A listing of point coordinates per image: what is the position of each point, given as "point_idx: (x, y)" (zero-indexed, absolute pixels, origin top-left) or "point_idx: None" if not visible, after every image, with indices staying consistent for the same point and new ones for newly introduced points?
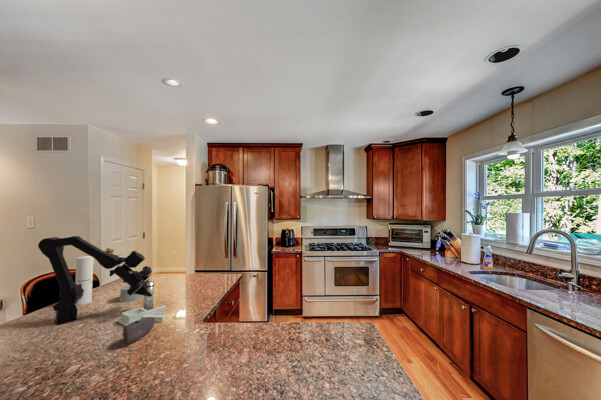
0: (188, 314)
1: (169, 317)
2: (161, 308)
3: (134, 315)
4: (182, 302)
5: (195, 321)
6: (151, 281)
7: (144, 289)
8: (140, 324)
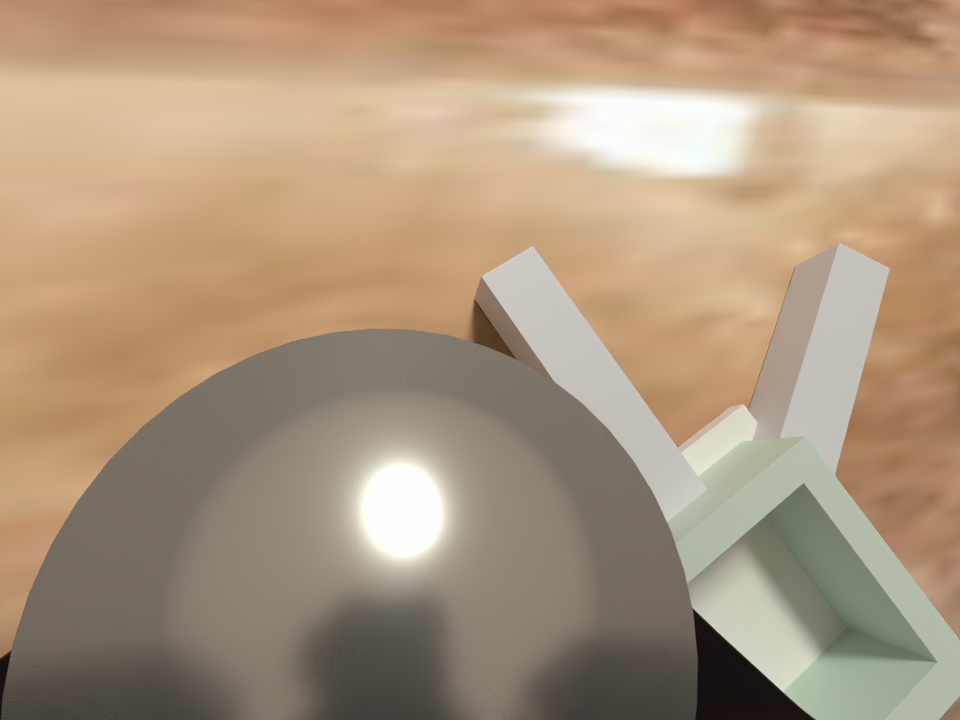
0: (709, 73)
1: (736, 234)
2: (576, 310)
3: (931, 604)
4: (285, 110)
5: (880, 36)
6: (196, 532)
7: (732, 697)
8: None
